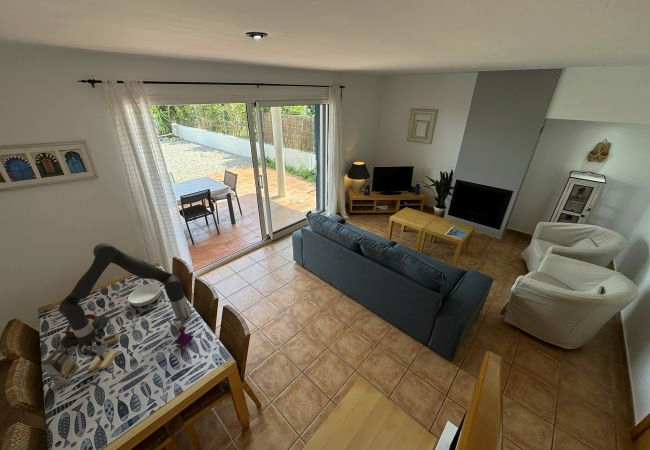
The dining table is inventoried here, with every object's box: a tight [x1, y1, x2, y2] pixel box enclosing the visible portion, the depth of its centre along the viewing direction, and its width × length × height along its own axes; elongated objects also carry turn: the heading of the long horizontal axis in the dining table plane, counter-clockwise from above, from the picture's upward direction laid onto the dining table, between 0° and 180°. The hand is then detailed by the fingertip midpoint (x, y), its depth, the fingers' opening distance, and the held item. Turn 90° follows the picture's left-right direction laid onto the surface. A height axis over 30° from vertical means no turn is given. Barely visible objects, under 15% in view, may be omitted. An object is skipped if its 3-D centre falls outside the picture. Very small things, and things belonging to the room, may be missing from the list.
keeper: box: [87, 350, 118, 371], centre depth 151 cm, size 10×10×6 cm
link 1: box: [85, 344, 109, 359], centre depth 148 cm, size 8×5×3 cm
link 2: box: [101, 332, 120, 347], centre depth 163 cm, size 8×5×3 cm
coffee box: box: [40, 348, 80, 385], centre depth 141 cm, size 9×6×16 cm
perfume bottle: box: [174, 320, 194, 347], centre depth 159 cm, size 8×8×18 cm
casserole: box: [60, 313, 110, 347], centre depth 168 cm, size 25×19×8 cm
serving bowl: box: [127, 283, 162, 307], centre depth 195 cm, size 21×21×7 cm
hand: (97, 351), depth 148 cm, fingers closed on link 1, 5 cm apart
